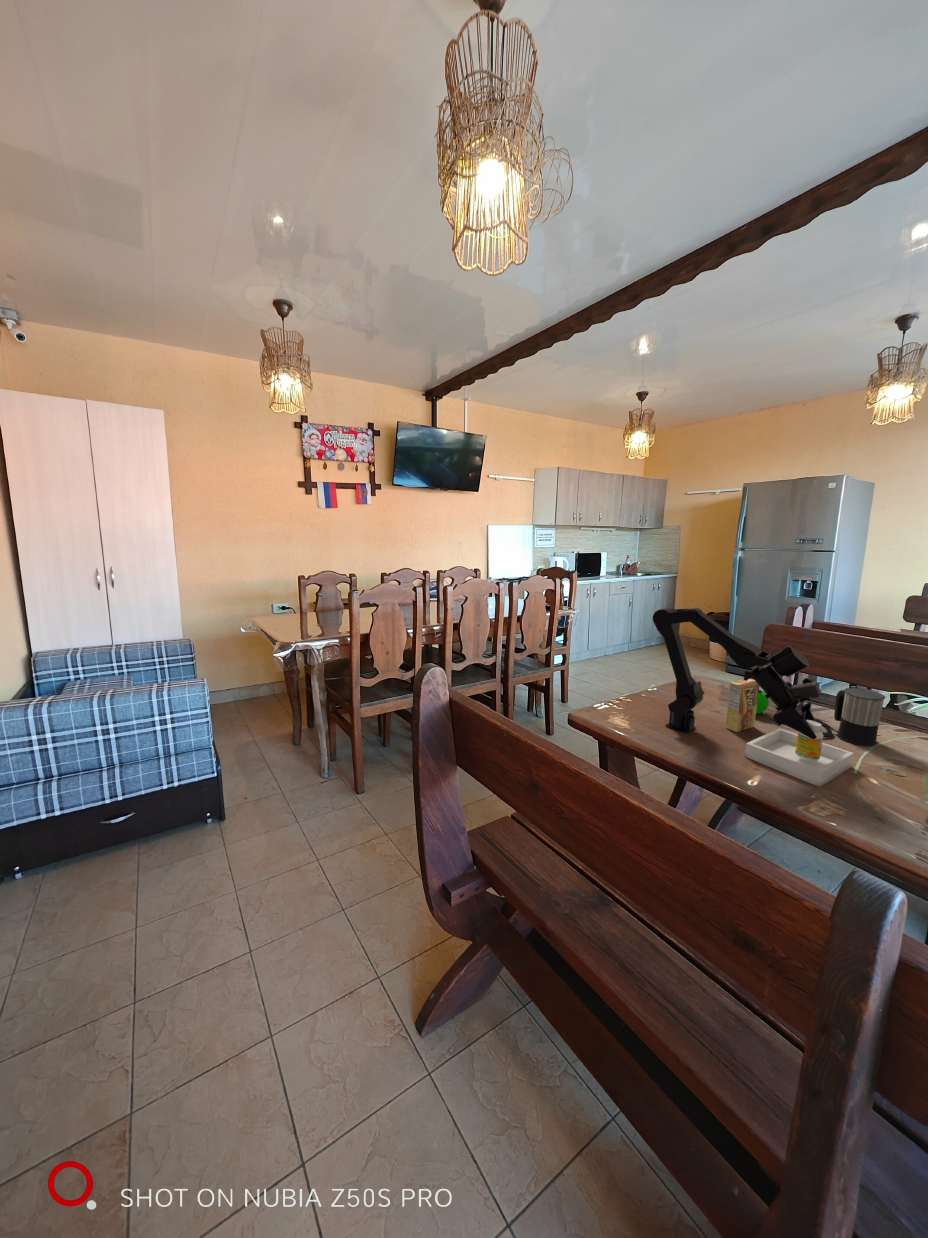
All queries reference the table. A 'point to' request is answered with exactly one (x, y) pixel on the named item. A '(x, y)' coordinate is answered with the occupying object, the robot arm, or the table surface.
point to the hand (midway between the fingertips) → (816, 735)
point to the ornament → (762, 702)
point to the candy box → (742, 705)
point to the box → (781, 756)
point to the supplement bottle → (810, 743)
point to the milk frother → (857, 716)
